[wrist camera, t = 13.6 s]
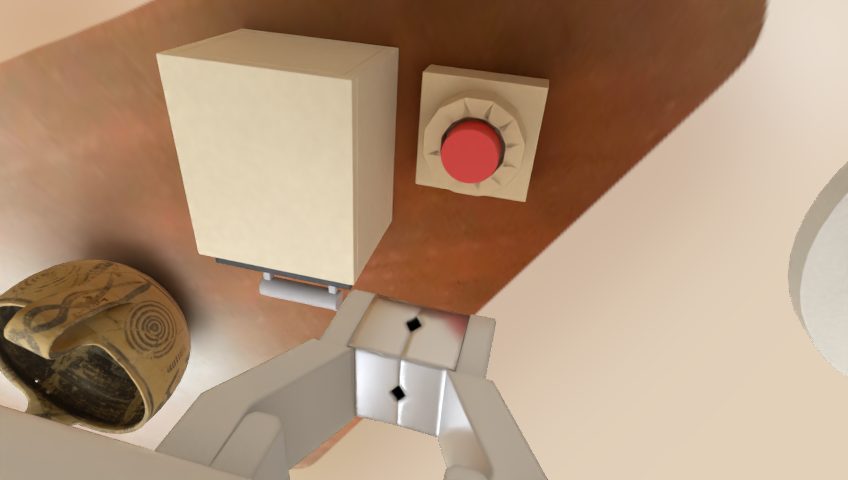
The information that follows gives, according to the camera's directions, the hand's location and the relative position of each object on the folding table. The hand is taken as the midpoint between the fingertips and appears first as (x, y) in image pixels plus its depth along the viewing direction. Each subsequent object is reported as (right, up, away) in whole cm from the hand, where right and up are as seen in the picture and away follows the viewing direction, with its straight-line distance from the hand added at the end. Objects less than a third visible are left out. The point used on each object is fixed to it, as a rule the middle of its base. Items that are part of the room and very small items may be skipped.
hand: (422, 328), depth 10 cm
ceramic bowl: (-30, -4, +43) cm, 52 cm away
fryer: (-8, +10, +28) cm, 30 cm away
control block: (+4, +10, +25) cm, 27 cm away
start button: (+3, +8, +22) cm, 23 cm away
